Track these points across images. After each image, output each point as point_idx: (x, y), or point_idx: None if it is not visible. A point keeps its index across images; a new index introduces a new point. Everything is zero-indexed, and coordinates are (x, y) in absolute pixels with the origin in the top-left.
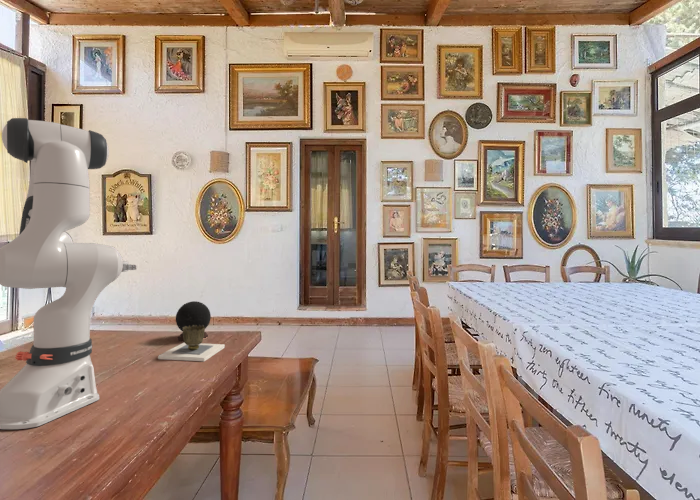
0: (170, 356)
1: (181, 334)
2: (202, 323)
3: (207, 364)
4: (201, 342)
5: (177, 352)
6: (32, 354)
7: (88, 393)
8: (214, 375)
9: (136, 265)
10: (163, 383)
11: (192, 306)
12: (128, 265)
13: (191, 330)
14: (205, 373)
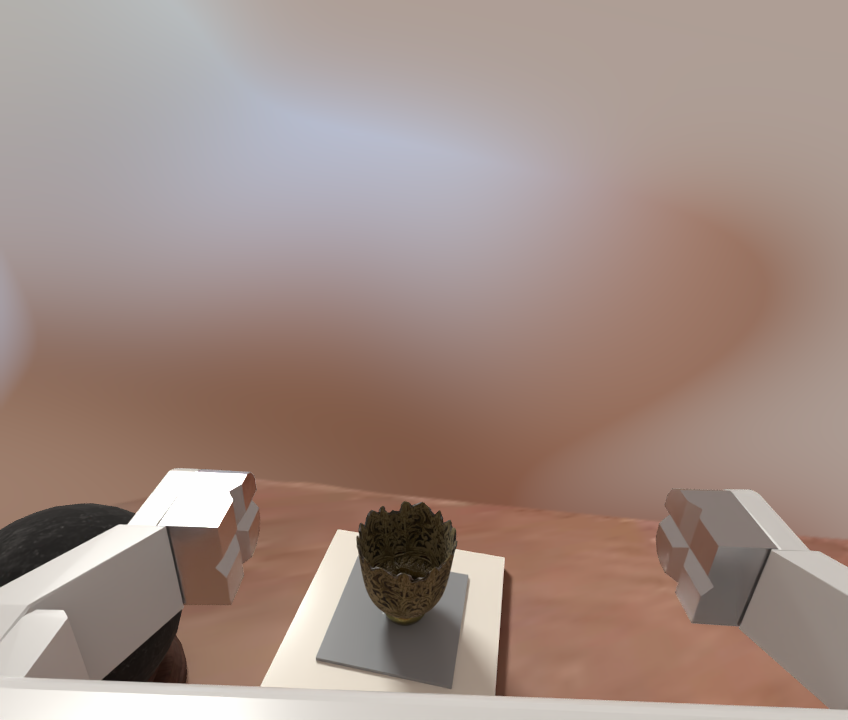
0: (495, 681)
1: None
2: None
3: (531, 553)
4: (408, 561)
5: (453, 660)
6: None
7: None
8: (619, 522)
9: (184, 470)
10: (738, 629)
11: None
12: (96, 589)
13: (455, 535)
14: (611, 543)
